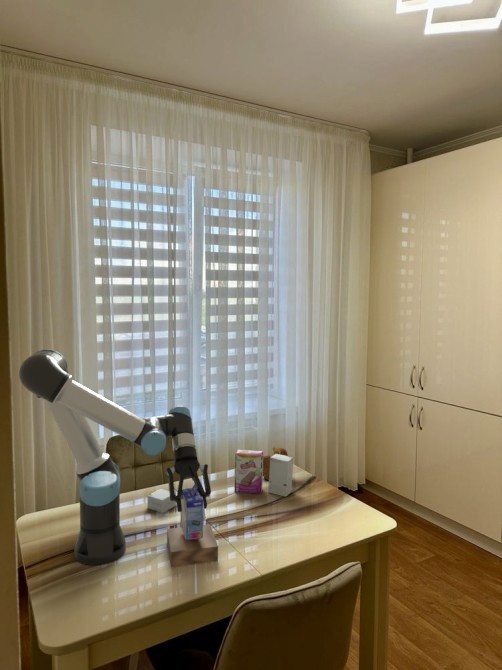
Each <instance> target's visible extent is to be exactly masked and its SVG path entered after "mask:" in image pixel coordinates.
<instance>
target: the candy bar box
mask: <svg viewBox="0 0 502 670" xmlns="http://www.w3.org/2000/svg"><path fill="white" fill-rule="evenodd" d="M263 456H264V451H262V450H249V449H236V451H235V457H234V458H235V460H234V462H235V465H234V492H235V493H245V494H246V493H248V494H260V495H261V494H262V491H263V478H264V477H263Z"/></svg>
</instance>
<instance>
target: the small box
mask: <svg viewBox="0 0 502 670" xmlns="http://www.w3.org/2000/svg"><path fill="white" fill-rule="evenodd" d="M175 495H176V496H177V492H175ZM174 507H177V503H176V501H171V500H170V492H169V490H166V489H163V488H159V489H157V490H155V491H154V492H152V493H149V494H148V495H147V509H149V510H153V511H155V510H156V511H155V512H158V513H161V514H164V513H165V512H167V511H168V510H171V509H172V508H174Z"/></svg>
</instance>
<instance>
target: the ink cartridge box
mask: <svg viewBox="0 0 502 670" xmlns="http://www.w3.org/2000/svg"><path fill="white" fill-rule="evenodd" d="M181 499H184V507H185V515H186V522H185V523H184V524H182V516H181V515H180V527H181V528H182V531H183V533H184V536H185V539H186V540H191V539H199V538H203V525H204V523H203V522H204V521H203V499H202V497H201V496H200V494H199V492H198V490H197V487H196V485H195V483H193V486H192V487H190V488H185V489H183V488H182V494H181Z"/></svg>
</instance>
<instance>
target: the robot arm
mask: <svg viewBox="0 0 502 670" xmlns="http://www.w3.org/2000/svg"><path fill="white" fill-rule="evenodd" d="M18 377H19V381H20V383H21V384H22V386H23V387H24V388H25V389H26V390H28V391H29V392H30V393H33V394H34V395H36V397H37V399H38V400H41V401H44V402H45V403H46V406H47V407H48V409H49V411H50V412H51V413H50V414H51V415H52V417H53V419H54V421H55V423H56V425H57V428H59V431H60V432H61V433H60V434H62V437H63V439H64V440H65V442H66V444H67V446H68V449H69V450H70V453H71V455H72V457H73V459H74V460H75V463H76V464H77V466H76V470H75V474H76V475H77V478H78V480H79V482H80V483H79V488H78V495H79V526H80V527H79V528H80V529H79V532H78V536H77V539H76V543H75V545H74V549H73V550H74V558H75V560H76V561H77V562H79V563H81V564H83V565H88V566H95V565H96V566H97V565H105V564H108V563H112V562H113V561H116V560H117V559H119V558H120V557H122V556H123V555H124V554H125V552H126V546H127V545H126V543H127V542H126V538H125V535H124V533H123V529H122V527H121V521H120V520H121V519H120V517H121V516H120V513H121V511H120V496H121V495H120V494H121V482H122V473H121V469H120V468H119V466H118V465H117V464H116V463H115V462H113V460H112V457H111V455H110V454H109V453H108V452H105V451H103V450H102V449H101V446H100V444H99V442H98V440H97V438H96V436H95V434H94V432H93V430H92V428H91V426H90V423H89V422H88V420H87V419H89V420H90V421H92V422H94V423H96V424H98V425H99V426H102V427H104V428H106V429H108V430H109V431H111V432H113V433H115V434H117V435H119V436H120V437H123V438H124V439H127V440H128V441H130V442H132V443H133V444H134V445H137V446H139V447H141V449H142V451H143V452H144V453H145V454H147V455H149V456H157V455H159V454H161V453H163V451H164V450H165V448H166V445H167V438H170V437H171V443H172V451H173V460H174V461H173V462H174V465H173V466H172V467H167V468H166V472H165V474H166V476H167V478H168V491H169V492H170V500H171V501H176V508H177V510H176V511H177V512H178V513H180V517H181V516H182V524H184V523H185V522H186V515H185V507H184V499H181V494H182V489H183V486H184V481H185V479H189V478H191V480H192V481H193V484H195V485H196V487H197V490H198V492H199V494H200V496H201V497H202V499H203V522H204V521H206V517H207V516H206V511H205V510H206V509H207V508H208V503H207V497H210V495H211V494H212V490H211V485H210V484H211V483H210V478H209V474H208V469H209V465H208V464H207V463H206V464H201V463H200V462H199V460H198V454H197V448H196V447H197V446H196V442H195V441H196V440H195V436H194V435H195V434H194V427H193V418H192V414H191V412H190V409H189V407H187V406H185V405H184V406H183V405H176V406H175V407H171V409H169V411H168V414H165V415H156V416H144V417H140V416H138V415H137V414H135V413H133V412H132V411H129V410H127V409H126V408H124V407H122V406H120V405H119V404H116V403H115V402H113V401H112V400H109V399H107V398H105V397H104V396H103V395H101V394H98V393H97V392H95V391H94V390H92V389H90V388H88V387H86V386H84V385H83V384H81V383H79V382H77V381H75V380H74V379H73V376H72V374H70V372H69V370H68V361H67V360H66V358H65V357H64V356H63V355H62V353H60V352H59V351H56V350H53V349H42V350H37V351H36V352H34V353H33V354H31V355H30V356H28V357H27V358H26V359H25V360H24V361H23V362H22V363H21V365H20V366H19V371H18ZM199 469H200V472H201V473H202V480H203V485H204V487H203V485H202V482H201V480H200V478H199V475H198V471H199ZM174 473H176V474H177V475H178V476H179V480H178V486H177V490H176V491H177V492H175V481H174ZM175 493H176V495H175Z"/></svg>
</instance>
